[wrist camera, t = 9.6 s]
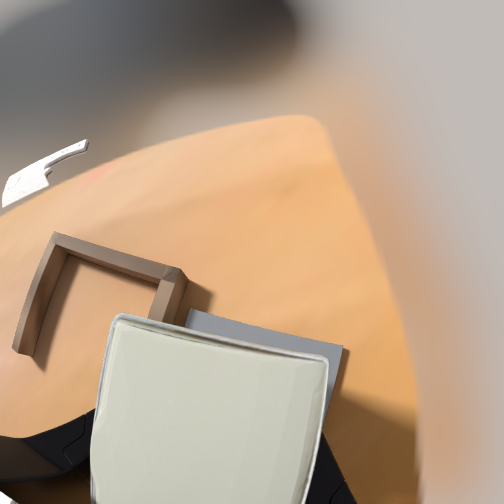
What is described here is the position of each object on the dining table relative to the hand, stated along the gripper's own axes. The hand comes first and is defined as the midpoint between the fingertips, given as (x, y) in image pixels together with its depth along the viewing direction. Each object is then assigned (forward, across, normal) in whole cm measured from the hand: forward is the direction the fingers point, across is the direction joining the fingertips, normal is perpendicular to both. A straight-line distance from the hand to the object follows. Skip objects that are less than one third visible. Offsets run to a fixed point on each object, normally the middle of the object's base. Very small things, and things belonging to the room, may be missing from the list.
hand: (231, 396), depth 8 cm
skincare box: (+4, 0, +6) cm, 8 cm away
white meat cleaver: (+16, +30, -4) cm, 34 cm away
